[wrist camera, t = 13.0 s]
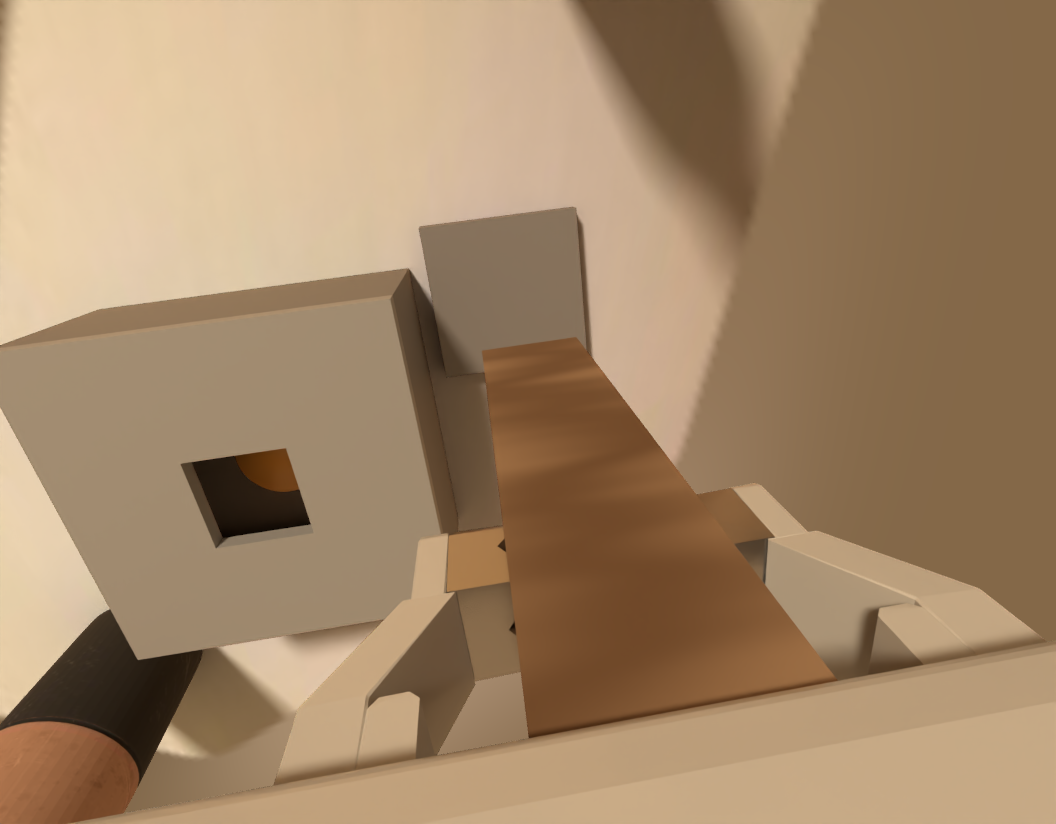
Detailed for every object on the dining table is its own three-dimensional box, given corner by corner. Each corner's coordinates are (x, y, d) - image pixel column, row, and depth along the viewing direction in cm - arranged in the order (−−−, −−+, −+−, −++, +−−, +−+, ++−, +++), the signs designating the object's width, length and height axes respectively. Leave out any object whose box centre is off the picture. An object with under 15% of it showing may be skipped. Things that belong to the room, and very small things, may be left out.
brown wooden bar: (575, 336, 17) (1205, 1162, 3) (583, 423, 19) (1050, 1329, 4) (481, 350, 17) (598, 1315, 2) (495, 436, 18) (628, 1441, 4)
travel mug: (173, 701, 39) (-82, 1162, 21) (62, 656, 37) (-340, 1134, 18) (229, 633, 37) (2, 1072, 19) (115, 580, 35) (-271, 1028, 17)
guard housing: (408, 268, 29) (390, 298, 22) (458, 519, 36) (456, 607, 28) (98, 309, 28) (-28, 355, 21) (206, 558, 35) (138, 659, 28)
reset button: (322, 392, 30) (310, 410, 28) (342, 463, 32) (332, 485, 30) (240, 404, 30) (222, 423, 28) (265, 474, 32) (249, 497, 30)
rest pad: (572, 206, 29) (576, 207, 28) (583, 352, 32) (587, 357, 31) (420, 226, 29) (418, 228, 28) (446, 371, 32) (446, 377, 31)
